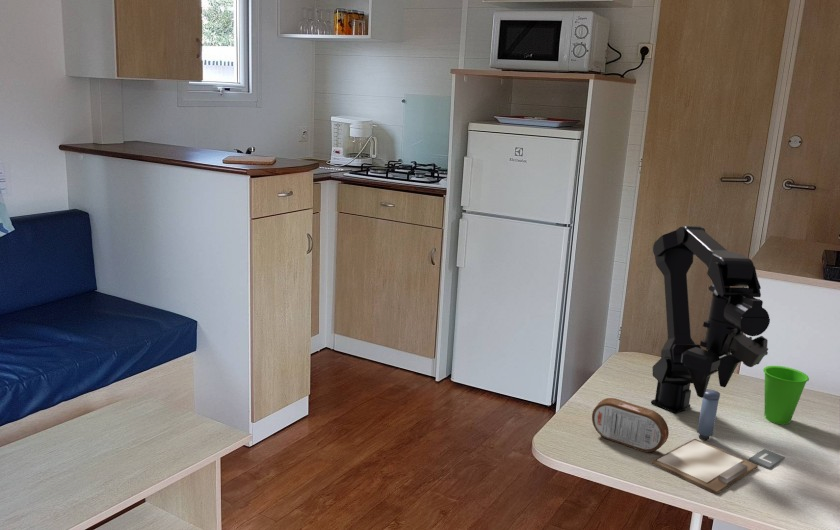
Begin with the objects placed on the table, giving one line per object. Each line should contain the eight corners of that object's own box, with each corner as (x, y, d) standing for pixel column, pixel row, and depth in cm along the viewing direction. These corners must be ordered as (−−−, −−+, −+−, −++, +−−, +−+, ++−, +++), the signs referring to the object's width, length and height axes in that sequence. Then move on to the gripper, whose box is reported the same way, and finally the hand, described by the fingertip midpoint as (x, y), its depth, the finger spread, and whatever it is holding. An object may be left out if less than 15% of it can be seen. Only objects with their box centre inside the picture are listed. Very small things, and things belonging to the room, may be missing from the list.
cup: (805, 431, 154) (815, 383, 152) (760, 425, 156) (769, 378, 153) (793, 414, 163) (802, 368, 160) (750, 408, 165) (758, 363, 162)
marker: (692, 437, 148) (700, 391, 146) (700, 433, 150) (708, 388, 148) (707, 443, 146) (715, 397, 144) (715, 439, 148) (723, 393, 146)
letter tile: (748, 460, 140) (748, 458, 140) (764, 450, 144) (764, 448, 144) (768, 469, 137) (769, 466, 137) (784, 458, 142) (785, 456, 141)
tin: (666, 453, 141) (672, 414, 139) (661, 459, 138) (667, 419, 136) (593, 429, 149) (598, 391, 147) (587, 434, 147) (592, 396, 145)
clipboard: (651, 463, 136) (652, 456, 136) (694, 441, 147) (695, 434, 146) (716, 494, 127) (717, 486, 127) (757, 468, 137) (759, 460, 137)
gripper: (741, 339, 130) (727, 418, 134) (785, 322, 142) (771, 395, 146) (685, 322, 138) (673, 397, 142) (731, 307, 150) (719, 376, 154)
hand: (711, 391), depth 146 cm, fingers open, 9 cm apart
